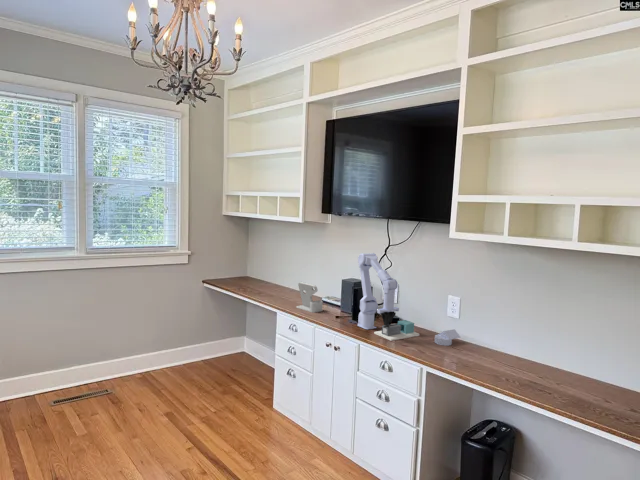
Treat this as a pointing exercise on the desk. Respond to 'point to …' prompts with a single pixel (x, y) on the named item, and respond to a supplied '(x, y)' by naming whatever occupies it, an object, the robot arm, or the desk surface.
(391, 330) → the grey rail guide
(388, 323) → the bar
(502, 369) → the desk surface
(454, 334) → the wedge on round base
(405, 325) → the socket
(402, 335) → the base board
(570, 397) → the desk surface
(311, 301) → the phone holder
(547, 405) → the desk surface
